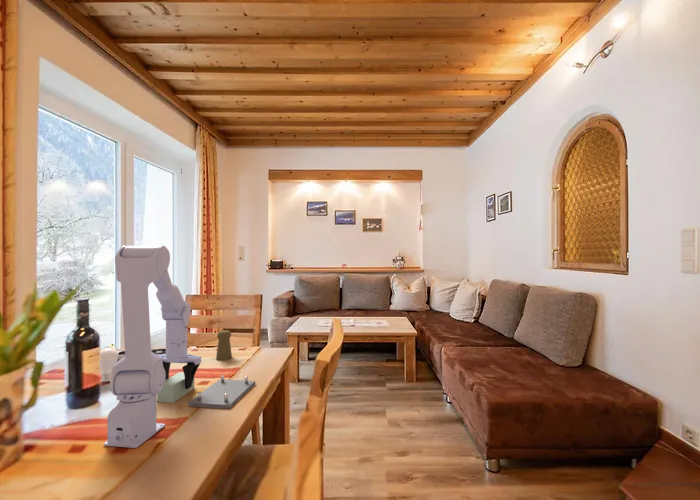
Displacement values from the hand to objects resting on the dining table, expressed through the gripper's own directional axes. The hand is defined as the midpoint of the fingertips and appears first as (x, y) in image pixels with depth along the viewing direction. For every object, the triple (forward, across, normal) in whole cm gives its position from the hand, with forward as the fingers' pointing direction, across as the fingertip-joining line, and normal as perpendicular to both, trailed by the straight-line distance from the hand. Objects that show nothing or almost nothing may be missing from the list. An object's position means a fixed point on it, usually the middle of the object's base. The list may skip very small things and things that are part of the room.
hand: (176, 387), depth 99 cm
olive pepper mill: (+3, +3, -34) cm, 34 cm away
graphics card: (+3, +35, -30) cm, 46 cm away
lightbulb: (+2, +29, -6) cm, 30 cm away
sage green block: (+2, 0, 0) cm, 2 cm away
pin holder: (+2, -14, -2) cm, 14 cm away
